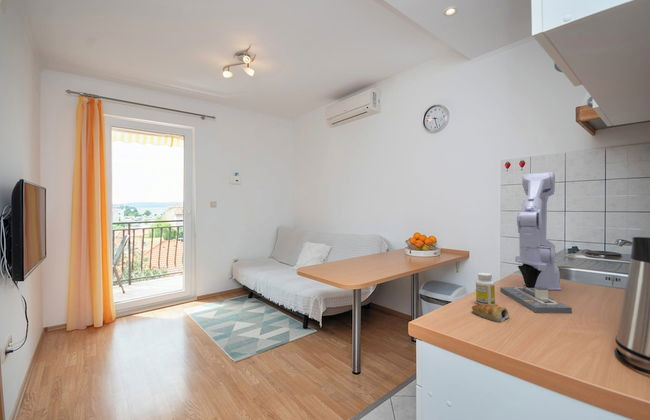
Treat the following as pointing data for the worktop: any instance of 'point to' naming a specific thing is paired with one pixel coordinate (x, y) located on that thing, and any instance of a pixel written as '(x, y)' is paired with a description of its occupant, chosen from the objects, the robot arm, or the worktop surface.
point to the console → (535, 300)
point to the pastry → (491, 312)
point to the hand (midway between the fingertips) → (530, 287)
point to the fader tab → (541, 293)
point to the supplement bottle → (485, 289)
